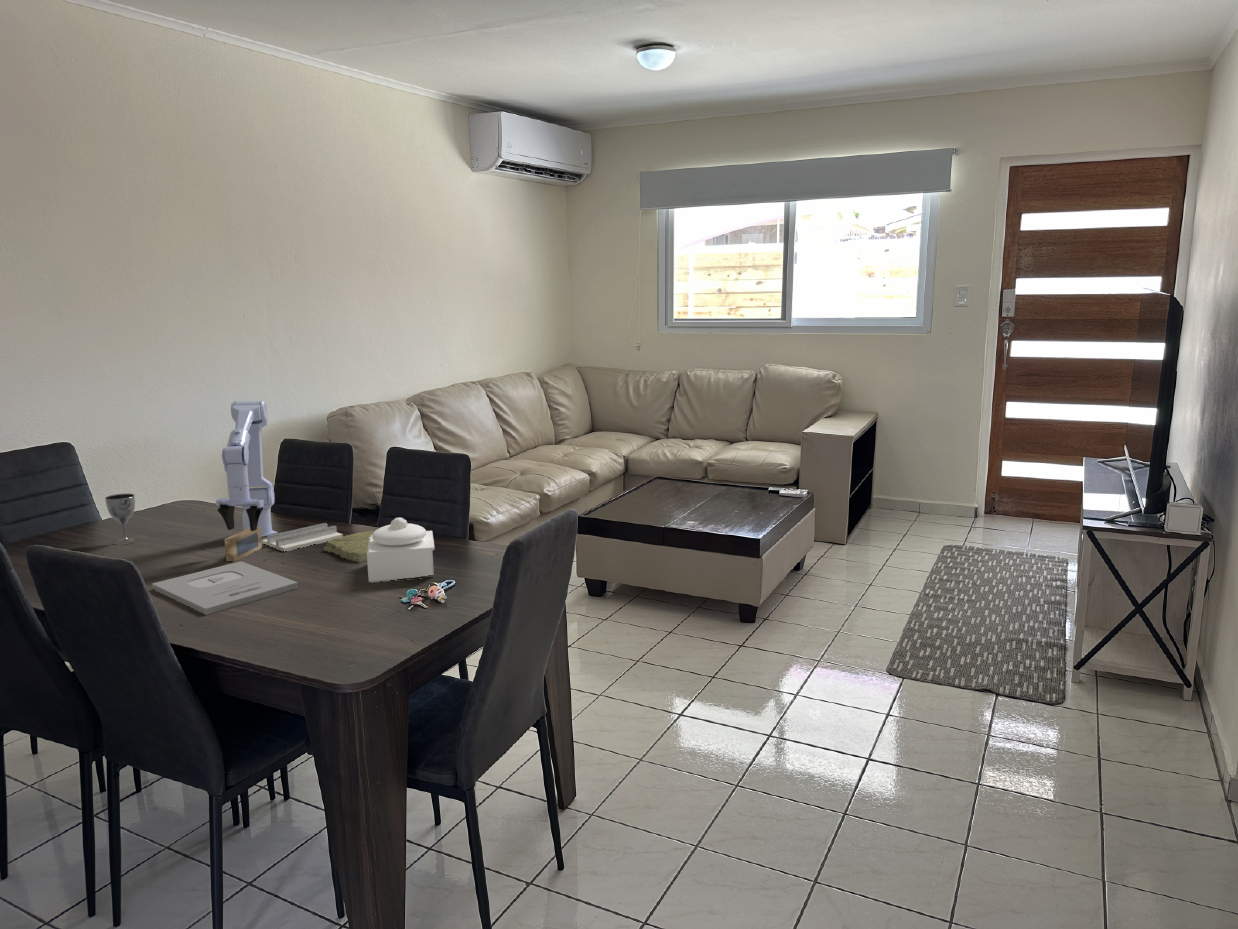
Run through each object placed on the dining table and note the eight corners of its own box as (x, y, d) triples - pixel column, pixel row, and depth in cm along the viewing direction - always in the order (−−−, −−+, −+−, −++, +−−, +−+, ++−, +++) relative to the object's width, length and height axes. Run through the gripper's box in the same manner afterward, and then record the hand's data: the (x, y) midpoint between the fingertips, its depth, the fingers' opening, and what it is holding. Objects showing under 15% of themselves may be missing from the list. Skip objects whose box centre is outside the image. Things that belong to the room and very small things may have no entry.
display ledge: (262, 543, 267) (261, 534, 266) (319, 530, 281) (319, 521, 281) (284, 552, 258) (283, 542, 257) (343, 537, 273) (342, 528, 272)
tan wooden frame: (226, 562, 249) (224, 539, 248) (254, 548, 262) (252, 526, 261) (234, 562, 248) (232, 539, 247) (262, 548, 262) (260, 526, 261)
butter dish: (370, 564, 246) (367, 511, 243) (433, 559, 251) (430, 507, 247) (368, 583, 230) (364, 527, 226) (436, 577, 234) (433, 522, 231)
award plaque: (206, 617, 207) (205, 608, 206) (152, 591, 225) (151, 583, 225) (298, 590, 226) (297, 582, 225) (241, 568, 244) (241, 561, 244)
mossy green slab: (370, 539, 273) (369, 528, 272) (410, 550, 261) (409, 539, 260) (319, 553, 258) (318, 541, 258) (358, 565, 246) (358, 553, 246)
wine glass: (141, 542, 268) (135, 497, 265) (112, 547, 264) (106, 500, 261) (138, 537, 275) (133, 492, 272) (110, 541, 270) (104, 495, 267)
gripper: (207, 487, 249) (212, 532, 251) (252, 489, 246) (256, 534, 249) (222, 482, 255) (227, 526, 258) (266, 484, 253) (270, 528, 255)
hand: (242, 529), depth 254 cm, fingers open, 7 cm apart
